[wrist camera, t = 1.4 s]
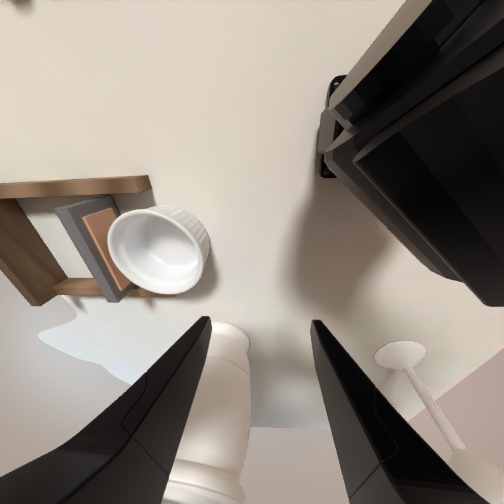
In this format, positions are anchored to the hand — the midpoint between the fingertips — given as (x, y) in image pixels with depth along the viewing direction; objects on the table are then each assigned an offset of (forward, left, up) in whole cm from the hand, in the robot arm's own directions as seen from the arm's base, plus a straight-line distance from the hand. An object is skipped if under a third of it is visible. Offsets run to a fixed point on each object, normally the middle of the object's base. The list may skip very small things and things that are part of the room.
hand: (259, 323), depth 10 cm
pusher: (+16, 0, -11) cm, 19 cm away
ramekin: (+10, 0, -11) cm, 15 cm away
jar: (+7, +17, -11) cm, 21 cm away
